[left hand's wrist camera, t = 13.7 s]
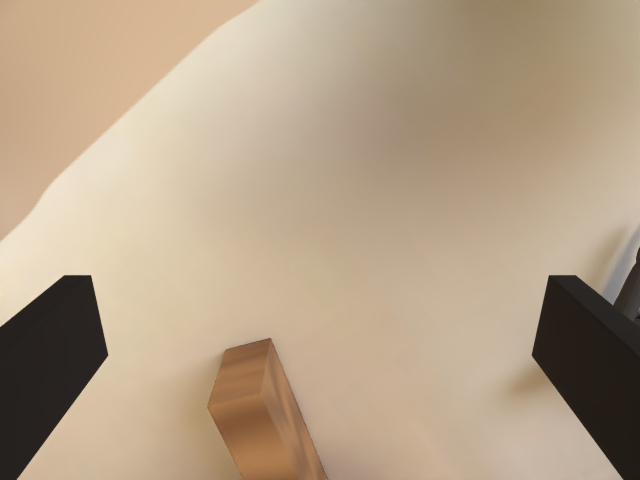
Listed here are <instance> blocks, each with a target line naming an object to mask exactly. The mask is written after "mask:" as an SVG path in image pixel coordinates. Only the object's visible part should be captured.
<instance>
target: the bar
mask: <svg viewBox="0 0 640 480" xmlns="http://www.w3.org/2000/svg"><path fill="white" fill-rule="evenodd" d="M207 408H208V410H209V412H210V414H211V416H212V418H213V420H214V422H215V424H216V426H217V428H218V430H219V432H220V434H221V436H222V437H223V439H224V441H225V443H226V445H227V447H228V449H229V451H230V453H231V455H232V457H233V459H234V461H235V463H236V465H237V467H238V469H239V471H240V473H241V475H242V477H243V479H244V480H328V479H327V476H326V474H325V471H324V469H323V466H322V464H321V461H320V459H319V457H318V454H317V452H316V449H315V447H314V444H313V442H312V439H311V437H310V434H309V432H308V429H307V427H306V424H305V422H304V420H303V417H302V415H301V412H300V410H299V407H298V405H297V402H296V400H295V397H294V395H293V392H292V390H291V387H290V385H289V382H288V380H287V378H286V375H285V373H284V370H283V368H282V365H281V363H280V360H279V358H278V355H277V353H276V350H275V348H274V345H273V343H272V341H271V338H270V339H266V340H262V341H258V342H254V343H250V344H246V345H242V346H239V347H235V348H231V349H227V350H226V352H225V355H224V358H223V361H222V364H221V367H220V370H219V373H218V376H217V379H216V382H215V385H214V388H213V391H212V394H211V397H210V400H209V403H208V406H207Z"/></svg>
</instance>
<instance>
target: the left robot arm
mask: <svg viewBox="0 0 640 480" xmlns="http://www.w3.org/2000/svg"><path fill="white" fill-rule="evenodd" d="M107 356H108V352H107V347H106V342H105V338H104V333H103V328H102V324H101V319H100V315H99V310H98V305H97V301H96V296H95V291H94V287H93V282H92V277H91V275H64V276H63V277H62V278H60V279H59V280H58V281H57V282H56V283H54V284H53V285H52V286H51V287H49V288H48V289H47V290H46V291H44V292H43V293H42V294H41V295H39V296H38V297H37V298H36V299H34V300H33V301H32V302H31V303H30V304H28V305H27V306H26V307H25V308H23V309H22V310H21V311H20V312H18V313H17V314H16V315H15V316H13V317H12V318H11V319H10V320H9V321H7V322H6V323H5V324H4V325H2V326H1V327H0V480H17V478H18V477H19V476H20V474H21V473H22V472H23V470H24V469H25V468H26V466H27V465H28V464H29V462H30V461H31V460H32V458H33V457H34V455H35V454H36V453H37V451H38V450H39V449H40V447H41V446H42V445H43V443H44V442H45V441H46V439H47V438H48V436H49V435H50V434H51V432H52V431H53V430H54V428H55V427H56V426H57V424H58V423H59V422H60V420H61V419H62V417H63V416H64V415H65V413H66V412H67V411H68V409H69V408H70V407H71V405H72V404H73V403H74V401H75V400H76V399H77V397H78V396H79V394H80V393H81V392H82V390H83V389H84V388H85V386H86V385H87V384H88V382H89V381H90V380H91V378H92V377H93V375H94V374H95V373H96V371H97V370H98V369H99V367H100V366H101V365H102V363H103V362H104V361H105V359H106V358H107ZM532 357H533V358H534V359H535V361H536V362H537V363H538V365H539V366H540V367H541V369H542V370H543V371H544V373H545V374H546V375H547V377H548V378H549V380H550V381H551V382H552V384H553V385H554V386H555V388H556V389H557V390H558V392H559V393H560V394H561V396H562V397H563V399H564V400H565V401H566V403H567V404H568V405H569V407H570V408H571V409H572V411H573V412H574V413H575V415H576V416H577V417H578V419H579V420H580V422H581V423H582V424H583V426H584V427H585V428H586V430H587V431H588V432H589V434H590V435H591V436H592V438H593V439H594V441H595V442H596V443H597V445H598V446H599V447H600V449H601V450H602V451H603V453H604V454H605V455H606V457H607V458H608V460H609V461H610V462H611V464H612V465H613V466H614V468H615V469H616V470H617V472H618V473H619V474H620V476H621V477H622V478H623V480H640V327H639V326H638V325H636V324H635V323H634V322H633V321H631V320H630V319H629V318H628V317H627V316H625V315H624V314H623V313H622V312H620V311H619V310H618V309H617V308H615V307H614V306H613V305H612V304H610V303H609V302H608V301H607V300H606V299H604V298H603V297H602V296H601V295H599V294H598V293H597V292H596V291H594V290H593V289H592V288H591V287H589V286H588V285H587V284H586V283H584V282H583V281H582V280H581V279H580V278H578V277H577V276H576V275H549V277H548V282H547V287H546V291H545V296H544V301H543V305H542V310H541V315H540V319H539V324H538V328H537V333H536V338H535V342H534V347H533V352H532Z"/></svg>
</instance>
